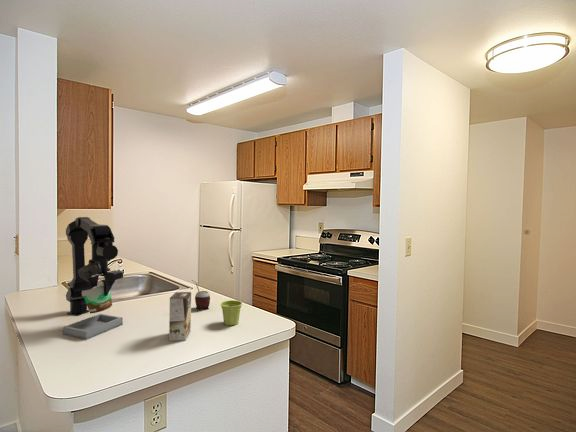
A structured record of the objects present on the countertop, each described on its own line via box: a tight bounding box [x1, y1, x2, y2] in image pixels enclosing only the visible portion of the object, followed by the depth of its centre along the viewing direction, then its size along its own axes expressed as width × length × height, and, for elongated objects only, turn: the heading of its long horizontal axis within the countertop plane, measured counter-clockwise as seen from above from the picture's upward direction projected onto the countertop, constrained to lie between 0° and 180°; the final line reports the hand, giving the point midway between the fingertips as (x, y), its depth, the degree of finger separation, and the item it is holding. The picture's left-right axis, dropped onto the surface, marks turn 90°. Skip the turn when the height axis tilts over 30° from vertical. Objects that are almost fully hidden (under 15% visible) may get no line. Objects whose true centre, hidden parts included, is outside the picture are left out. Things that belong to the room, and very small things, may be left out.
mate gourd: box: [191, 279, 211, 312], centre depth 167 cm, size 8×8×15 cm
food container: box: [82, 282, 113, 314], centre depth 142 cm, size 12×6×10 cm, turn 163°
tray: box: [62, 313, 124, 341], centre depth 139 cm, size 12×17×3 cm
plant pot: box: [219, 300, 243, 326], centre depth 149 cm, size 9×9×9 cm
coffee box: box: [168, 291, 192, 342], centre depth 134 cm, size 9×6×16 cm
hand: (99, 294), depth 141 cm, fingers closed on food container, 6 cm apart
